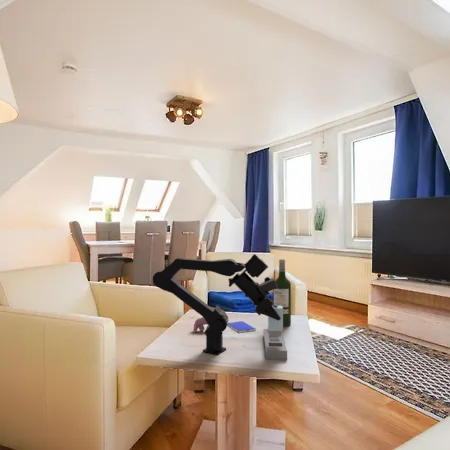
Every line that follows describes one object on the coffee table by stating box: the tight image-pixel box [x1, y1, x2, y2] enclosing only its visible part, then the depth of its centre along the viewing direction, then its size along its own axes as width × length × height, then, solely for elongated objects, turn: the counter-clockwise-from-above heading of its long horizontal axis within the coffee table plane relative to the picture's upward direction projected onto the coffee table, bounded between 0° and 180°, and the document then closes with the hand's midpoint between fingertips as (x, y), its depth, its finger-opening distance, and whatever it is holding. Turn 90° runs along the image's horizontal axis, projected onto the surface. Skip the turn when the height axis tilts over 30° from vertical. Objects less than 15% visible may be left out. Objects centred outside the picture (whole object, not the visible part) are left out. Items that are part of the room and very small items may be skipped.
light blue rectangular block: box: [267, 304, 284, 336], centre depth 120 cm, size 4×5×11 cm
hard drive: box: [227, 320, 257, 334], centre depth 150 cm, size 2×8×12 cm
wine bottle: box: [273, 258, 292, 328], centre depth 155 cm, size 8×8×30 cm
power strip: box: [263, 328, 288, 361], centre depth 129 cm, size 31×7×4 cm, turn 176°
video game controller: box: [193, 317, 208, 334], centre depth 145 cm, size 10×5×7 cm, turn 85°
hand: (279, 317), depth 120 cm, fingers closed on light blue rectangular block, 4 cm apart
